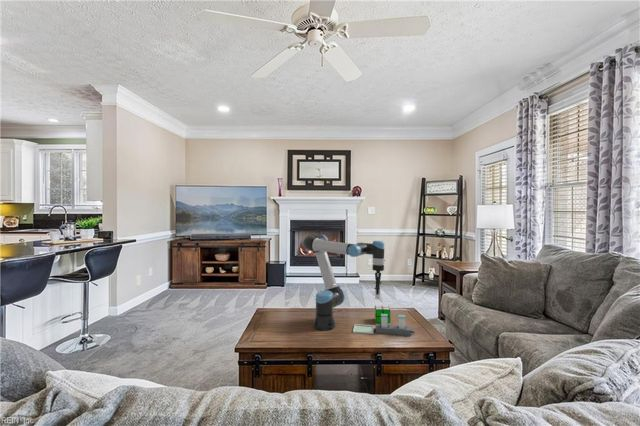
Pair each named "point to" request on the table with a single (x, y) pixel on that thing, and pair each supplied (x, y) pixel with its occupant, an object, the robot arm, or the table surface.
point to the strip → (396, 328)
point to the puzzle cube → (381, 312)
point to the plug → (384, 320)
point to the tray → (363, 329)
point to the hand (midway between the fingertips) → (377, 296)
